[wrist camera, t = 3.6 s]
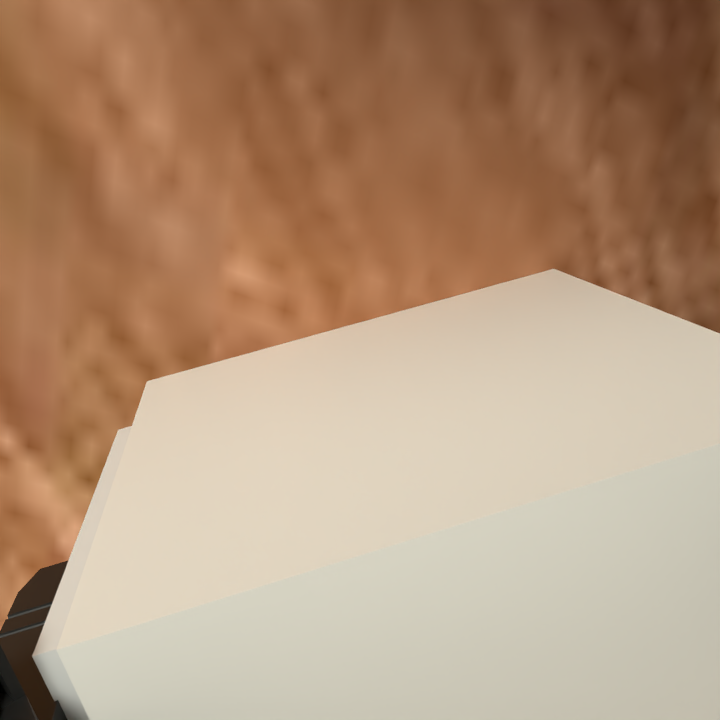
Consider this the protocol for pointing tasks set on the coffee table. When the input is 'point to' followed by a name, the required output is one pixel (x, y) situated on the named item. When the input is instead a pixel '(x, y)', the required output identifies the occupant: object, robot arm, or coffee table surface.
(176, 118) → the coffee table surface
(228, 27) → the coffee table surface
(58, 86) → the coffee table surface
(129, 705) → the block
